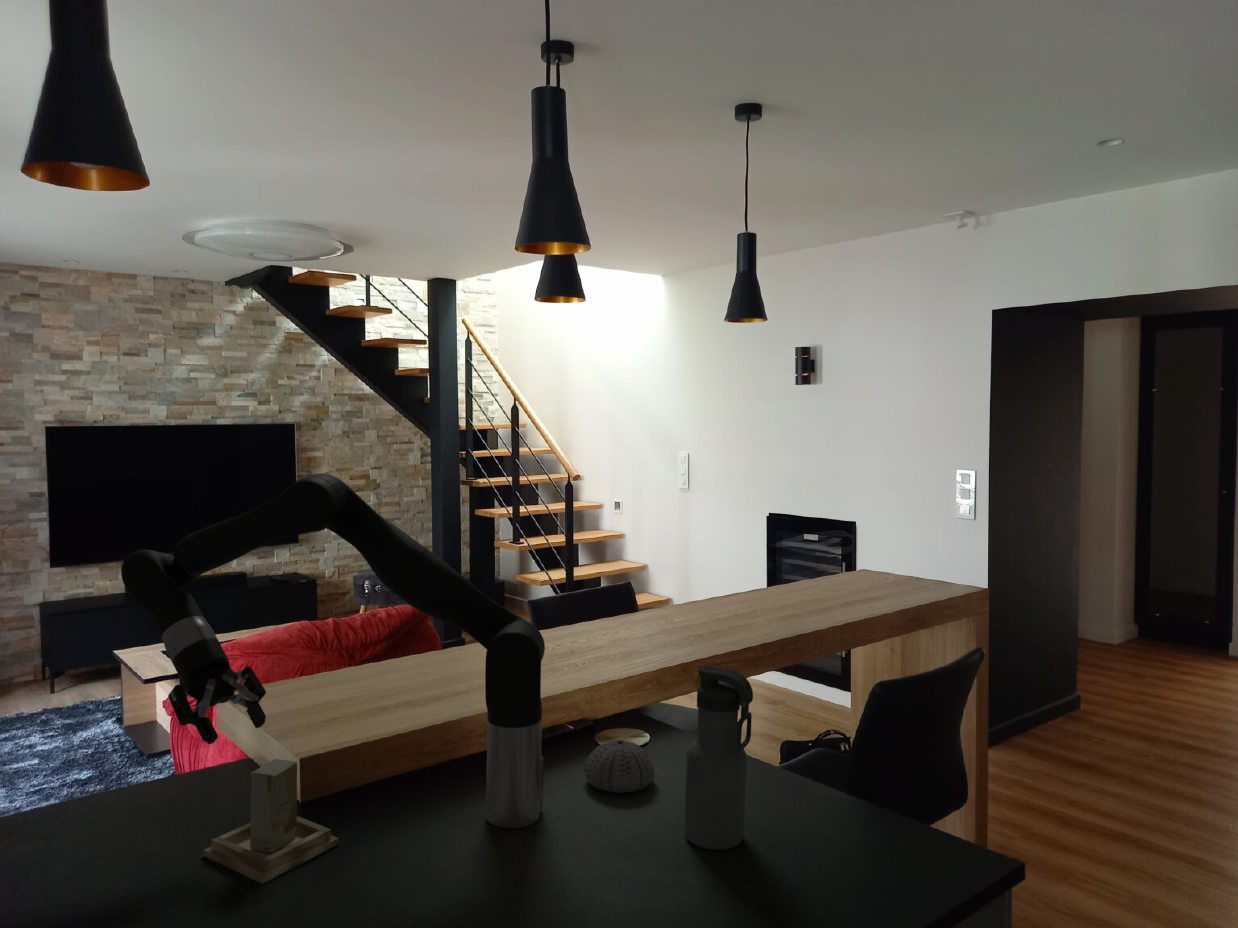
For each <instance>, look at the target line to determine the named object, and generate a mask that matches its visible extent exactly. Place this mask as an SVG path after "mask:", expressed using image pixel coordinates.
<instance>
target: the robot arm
mask: <svg viewBox="0 0 1238 928" xmlns="http://www.w3.org/2000/svg"><path fill="white" fill-rule="evenodd" d="M325 529H327V530H329V531H330V532H332V533H334V534H335V535H336V536H338V537H340V538H341V539H343V540H344V541H346V542H347V543H348V544H350V546H352V547H353V548H355V549H356V551H357V552H359V554H360V555H361V556H362V557H363V559H364V560H365V561H366V563H367V564H368V566H369V567H370V569H371V570H372V572H373V573H374V575H375V576H376V577H377V579H379V581H380V583H382V584H383V586H384V587H386V588H387V589H388V590H389V591H390V592H392V593H393V594H395V596H397V597H398V598H399V599H401V600H402V601H403V602H405V603H406V604H408V605H409V606H411V608H414V609H415V610H417V611H419V612H420V613H423V614H424V615H427V616H429V617H431V618H434V619H436V620H439V621H441V622H443V623H446V624H449V625H451V626H454V627H456V628H458V629H459V630H461V631H463V632H465V633H466V634H467V635H469V636H470V637H472V638H473V640H475V641H476V642H477V643H479V644H480V645H481V646H482V647H483V648H484V649H485V650H486V653H485V662H484V663H485V669H484V670H485V675H484V676H485V677H484V678H485V685H484V686H485V687H484V688H485V692H484V693H485V694H484V695H485V706H486V709H487V711H486V712H487V721H486V722H487V724H486V725H487V726H486V727H487V728H486V729H487V730H486V733H487V734H486V735H487V736H486V742H487V743H486V792H485V793H486V794H485V796H486V797H485V798H486V799H485V818H486V819H485V820H486V821H487V822H488V823H489V824H491V825H492V826H495V827H498V828H501V829H503V828H504V829H520V828H525V827H529V826H530V825H534V823H537V821H539V819H540V816H541V812H543V810H544V778H545V777H544V773H545V771H544V769H545V768H544V767H545V766H544V765H545V762H544V761H545V760H544V757H543V756H542V738H543V737H542V734H543V733H542V728H543V727H542V726H543V724H542V723H543V722H542V721H543V719H542V717H543V703H542V697H541V688H542V687H541V684H542V682H541V681H542V680H541V679H542V678H541V677H542V660H543V658H544V655H545V652H546V651H545V650H546V646H545V640H544V637H543V635H542V633H541V632H540V630H539V629H538V628H537V627H536V626H535V625H534V624H532V623H531V622H529V621H527V620H526V619H524V618H523V617H521V616H520V615H517V614H516V613H514V612H513V611H511V610H510V609H507V608H505V607H504V606H502V605H500V604H499V603H497V602H496V601H495V600H493V599H491V598H490V597H488V596H487V595H486V594H485V593H484V592H482V590H480V589H479V588H478V587H477V586H475V585H474V584H473V583H472V582H471V581H469V580H468V579H466V578H465V577H464V576H463V575H462V574H461V573H459V572H458V571H456V570H455V569H454V568H452V567H451V566H450V565H449V564H447V563H446V562H445V561H444V560H443V559H442V558H440V557H439V556H438V555H436V554H435V553H434V552H432V551H431V550H430V549H428V548H427V547H426V546H424V545H422V543H419V542H418V541H417V540H415V539H414V538H412V537H411V536H410V535H409V534H407V533H406V532H405V531H403V530H402V529H401V528H399V527H398V526H396V525H395V524H394V523H392V522H390V521H389V520H387V519H386V518H384V517H383V516H382V515H381V514H379V512H377V511H376V510H375V509H373V508H372V507H371V506H370V504H368V503H367V502H366V501H365V500H364V499H363V498H362V497H361V496H360V495H359V494H357V493H356V492H355V491H354V489H352V488H351V487H350V486H349V485H347V484H346V483H345V481H343V480H342V479H340V478H339V477H337V476H335V475H333V474H329V473H316V474H312V475H309V476H306V477H303V478H300V479H298V480H296V481H294V482H293V483H292V484H291V485H290V486H287V488H285V489H284V490H282V491H281V492H279V493H277V494H276V495H275V496H272V498H270V499H268V500H267V501H266V502H264V503H262V504H261V505H259V506H257V507H255V508H252V509H250V510H248V511H246V512H244V513H241V514H239V515H235V516H232V517H230V518H227V519H224V520H221V521H217V522H216V523H213V524H211V525H208V526H206V527H203V528H202V529H199V530H197V531H195V532H192V533H190V534H188V535H186V536H184V537H182V538H180V540H178V541H177V543H176V544H175V546H174V549H173V550H174V551H172V552H168V553H166V552H161V551H157V550H151V549H137V550H134V551H132V552H130V553H129V554H128V555H127V556H126V557H125V558H124V560H123V562H122V564H121V569H120V570H121V571H120V574H121V580H122V583H123V585H124V587H125V589H126V590H127V592H128V593H129V594H130V596H132V598H133V599H134V600H135V601H136V603H137V604H138V605H139V607H141V608H142V610H143V611H144V612H145V613H147V614H148V616H150V618H151V619H152V621H153V623H154V625H155V628H156V630H157V632H158V634H159V635H160V638H161V640H162V642H163V645H164V649H165V651H166V653H167V655H168V657H169V659H170V661H171V663H172V665H173V667H174V669H175V672H176V673H177V675H178V677H179V679H180V680H181V683H182V685H184V686H182V685H181V684H175V685H174V687H173V688H172V690H171V691H170V692H169V693H168V695H167V697H168V699H169V702H170V704H171V707H172V709H173V711H174V714H175V717H176V718H177V720H178V723H179V725H180V726H186V725H193V726H195V727H196V729H197V732H198V733H199V735H200V737H201V740H202V741H203V742H204V743H206V744H207V745H211V744H214V743H215V742H216V741H217V739H218V738H219V735H218V733H217V730H216V729H215V727H214V725H213V723H212V721H211V718H210V717H209V716H207V712H208V709H209V707H210V708H212V707H214V706H217V705H218V704H224V703H228V702H230V703H232V704H234V705H240V706H241V707H244V708H246V713H247V715H248V717H249V719H250V720H251V723H252V725H253V726H254V728H255V729H259V728H262V726H263V725H264V724H265V723H266V719H267V717H266V714H265V712H264V710H263V708H262V706H261V704H260V702H261V701H262V699H263V698H264V696H265V695H267V690H266V689H265V688H264V686H263V684H262V682H261V681H260V679H259V678H258V676H257V674H256V673H255V671H254V670H253V668H252V667H251V666H249V665H247V666H245V667H244V668H243V669H242V670H239V671H234V670H233V669H232V668H231V665H230V662H229V661H230V660H229V657H228V656H227V654H226V652H225V651H224V649H223V646H222V645H221V643H220V641H219V639H218V637H217V636H216V633H215V632H214V631H215V630H213V628H212V627H211V625H210V624H209V623H208V621H207V619H206V618H205V616H204V615H203V612H202V611H201V609H200V607H199V605H198V603H197V601H196V600H195V598H193V596H192V594H190V593H188V592H187V591H184V590H183V589H184V588H185V587H187V586H188V585H189V584H191V583H192V582H194V581H195V580H196V579H199V577H201V575H203V574H205V573H207V572H211V571H213V570H215V569H217V568H219V567H221V566H224V565H226V564H229V563H230V562H233V561H235V560H238V559H239V558H241V557H244V556H246V555H247V554H249V553H251V552H252V551H255V550H256V549H259V548H260V547H262V546H266V545H267V544H271V543H274V542H276V541H280V540H284V539H288V538H291V537H295V536H300V535H305V534H308V533H314V532H321V531H324V530H325ZM238 681H239V682H238ZM236 692H238V693H237V694H235V693H236ZM188 696H189V697H191V698H192V699H194V700H195V701H196V702H195V705H194V708H193V709H192V707H191V706H192V705H191V704H190V702H189V699H188Z"/></svg>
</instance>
